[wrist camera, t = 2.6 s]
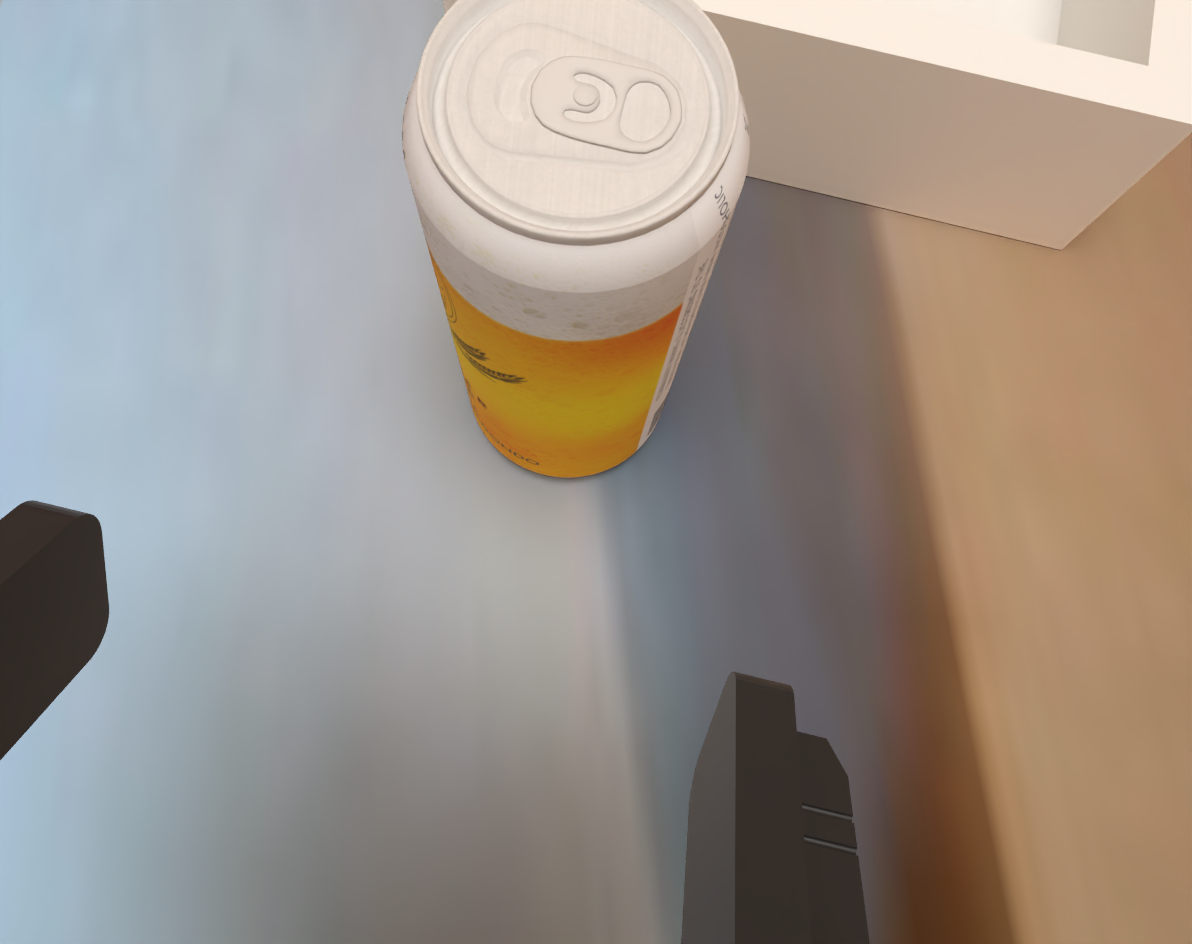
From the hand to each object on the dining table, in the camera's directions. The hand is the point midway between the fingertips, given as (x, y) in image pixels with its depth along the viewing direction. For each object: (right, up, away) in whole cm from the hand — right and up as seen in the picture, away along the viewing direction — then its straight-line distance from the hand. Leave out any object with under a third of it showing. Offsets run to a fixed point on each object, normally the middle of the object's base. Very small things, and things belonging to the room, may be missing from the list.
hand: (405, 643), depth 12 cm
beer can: (+1, +5, +18) cm, 19 cm away
